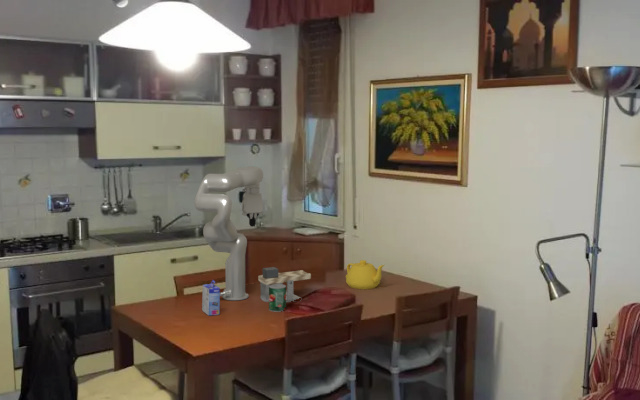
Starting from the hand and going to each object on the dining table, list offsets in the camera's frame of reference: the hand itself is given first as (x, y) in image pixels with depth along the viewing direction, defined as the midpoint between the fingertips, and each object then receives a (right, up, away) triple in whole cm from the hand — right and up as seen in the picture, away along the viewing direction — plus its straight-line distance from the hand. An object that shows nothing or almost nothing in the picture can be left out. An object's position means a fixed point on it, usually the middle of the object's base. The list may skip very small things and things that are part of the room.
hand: (252, 226), depth 337 cm
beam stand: (+15, -35, -19) cm, 42 cm away
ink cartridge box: (-14, -37, -44) cm, 59 cm away
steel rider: (+11, -25, -23) cm, 35 cm away
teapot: (+58, -32, +7) cm, 67 cm away
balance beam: (+18, -25, -18) cm, 36 cm away
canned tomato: (+15, -37, -38) cm, 55 cm away
